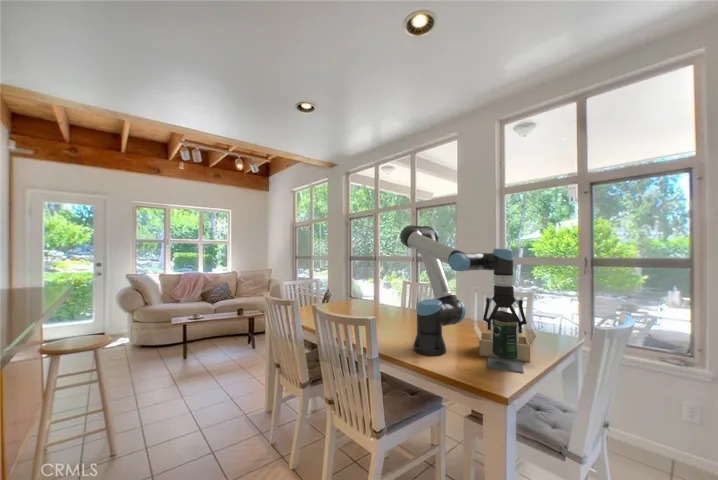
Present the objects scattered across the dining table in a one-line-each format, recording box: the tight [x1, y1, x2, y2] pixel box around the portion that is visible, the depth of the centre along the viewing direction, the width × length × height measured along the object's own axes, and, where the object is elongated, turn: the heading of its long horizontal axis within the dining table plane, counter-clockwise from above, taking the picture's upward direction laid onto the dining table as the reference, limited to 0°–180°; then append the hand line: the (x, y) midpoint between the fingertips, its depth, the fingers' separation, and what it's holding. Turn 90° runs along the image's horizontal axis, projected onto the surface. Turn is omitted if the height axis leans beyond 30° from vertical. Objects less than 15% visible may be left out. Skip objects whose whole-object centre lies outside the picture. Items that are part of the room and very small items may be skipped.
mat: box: [486, 356, 524, 374], centre depth 126 cm, size 13×13×1 cm
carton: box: [473, 322, 537, 363], centre depth 140 cm, size 25×15×11 cm, turn 66°
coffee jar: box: [491, 310, 518, 360], centre depth 126 cm, size 10×8×19 cm
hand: (504, 339), depth 126 cm, fingers closed on coffee jar, 9 cm apart
